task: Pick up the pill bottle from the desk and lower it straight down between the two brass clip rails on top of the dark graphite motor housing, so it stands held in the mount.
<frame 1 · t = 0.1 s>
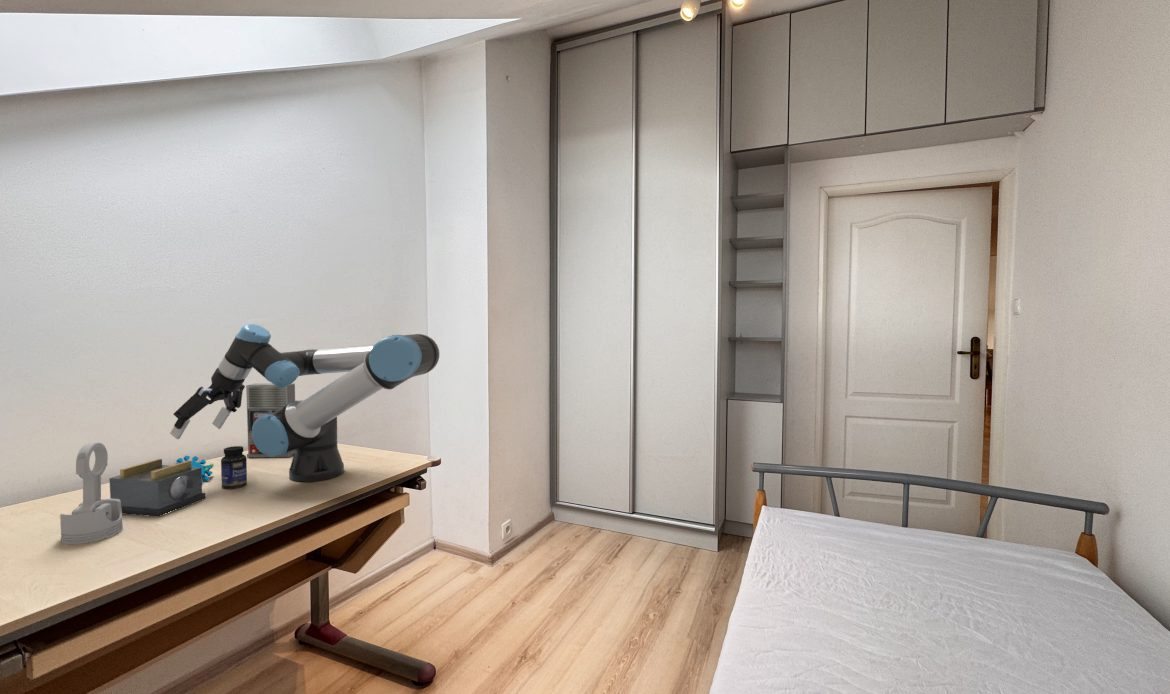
hand: (196, 430, 152), 15 cm above the table, tool tilted 35°, fingers open, 13 cm apart
grey cassette player: (272, 456, 182), on the table
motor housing: (158, 505, 135), on the table
blue spiky rounded piece: (195, 482, 154), on the table
engine component: (94, 534, 118), on the table
pill bottle: (234, 486, 151), on the table
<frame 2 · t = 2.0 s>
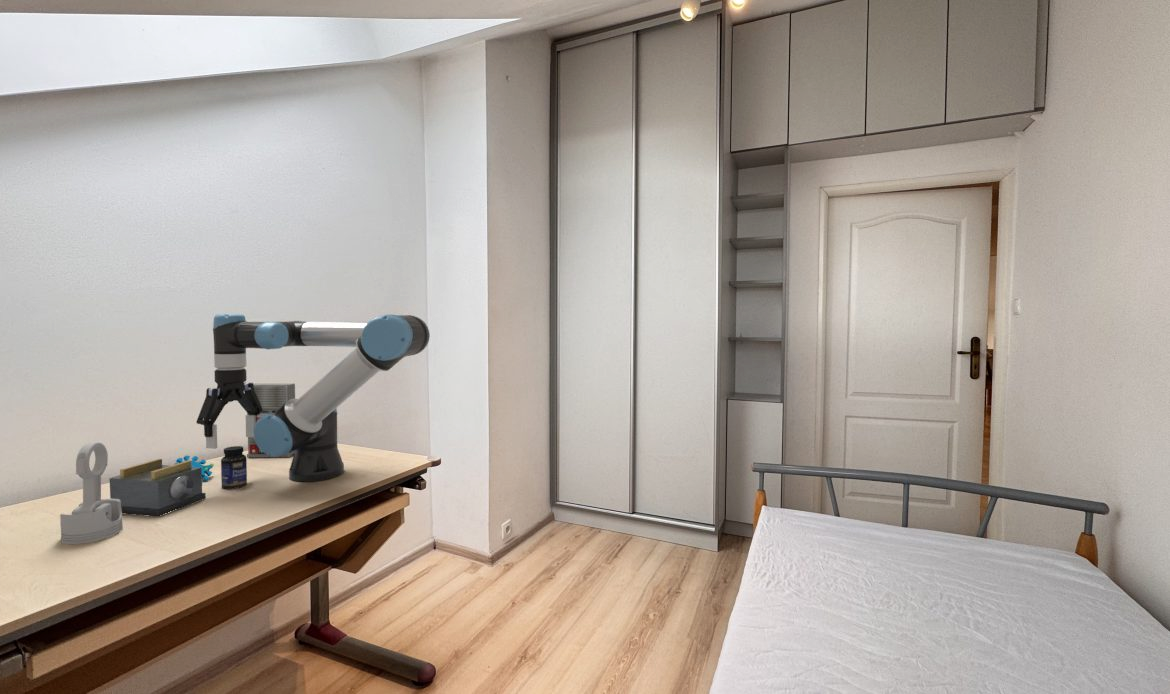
hand: (232, 442, 150), 13 cm above the table, tool pointing down, fingers open, 13 cm apart
nothing on the table moved.
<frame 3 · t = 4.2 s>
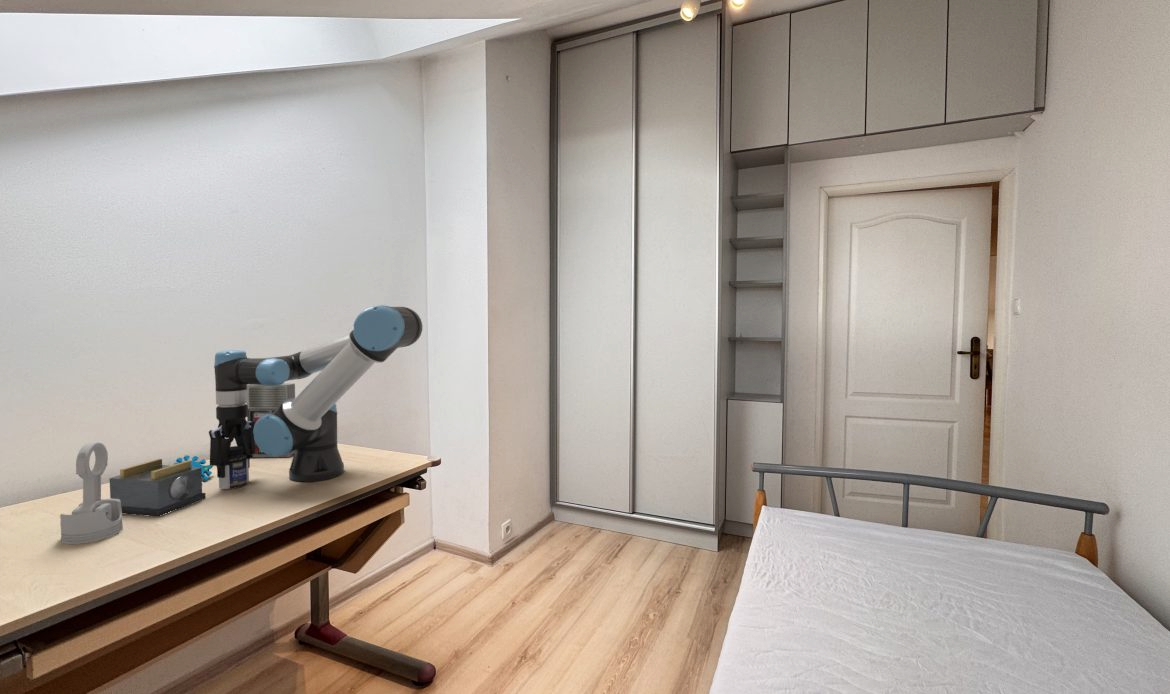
hand: (234, 484, 151), 0 cm above the table, tool pointing down, fingers closed on pill bottle, 6 cm apart
pill bottle: (234, 486, 151), on the table, touching gripper
everything else where it was.
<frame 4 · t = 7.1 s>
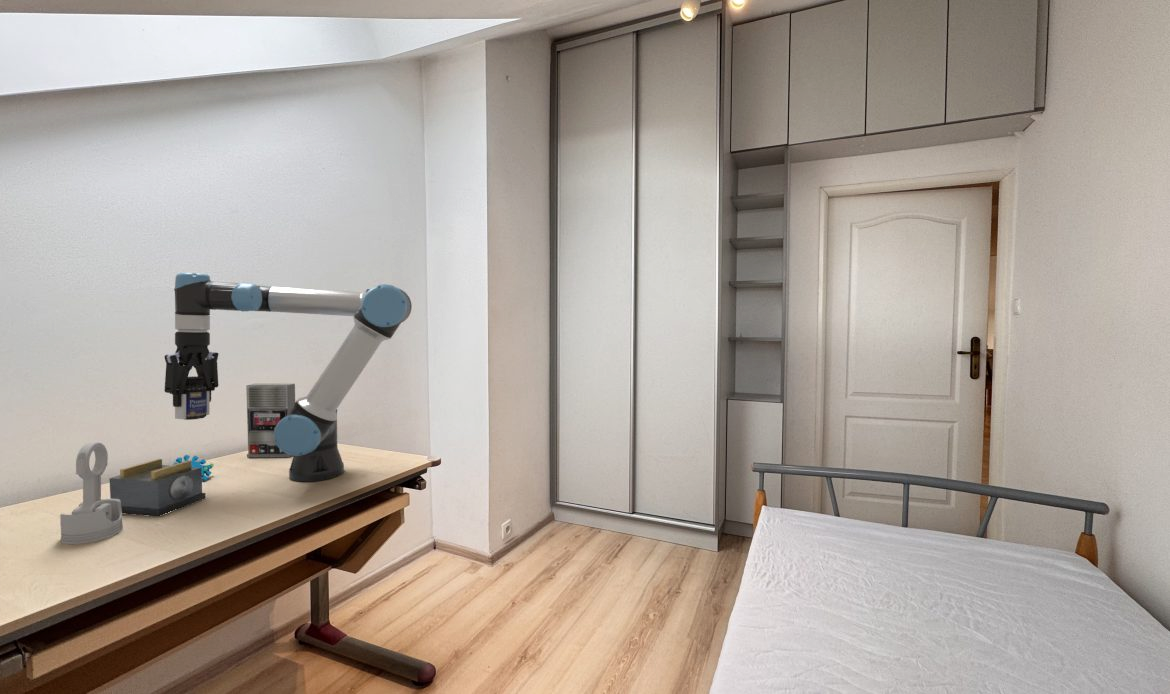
hand: (192, 416, 142), 22 cm above the table, tool pointing down, fingers closed on pill bottle, 6 cm apart
pill bottle: (192, 418, 142), point 21 cm above the table, touching gripper
everything else where it was.
when the fingers open (10 cm above the table, at t = 10.5 s): pill bottle stays where it is, resting on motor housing.
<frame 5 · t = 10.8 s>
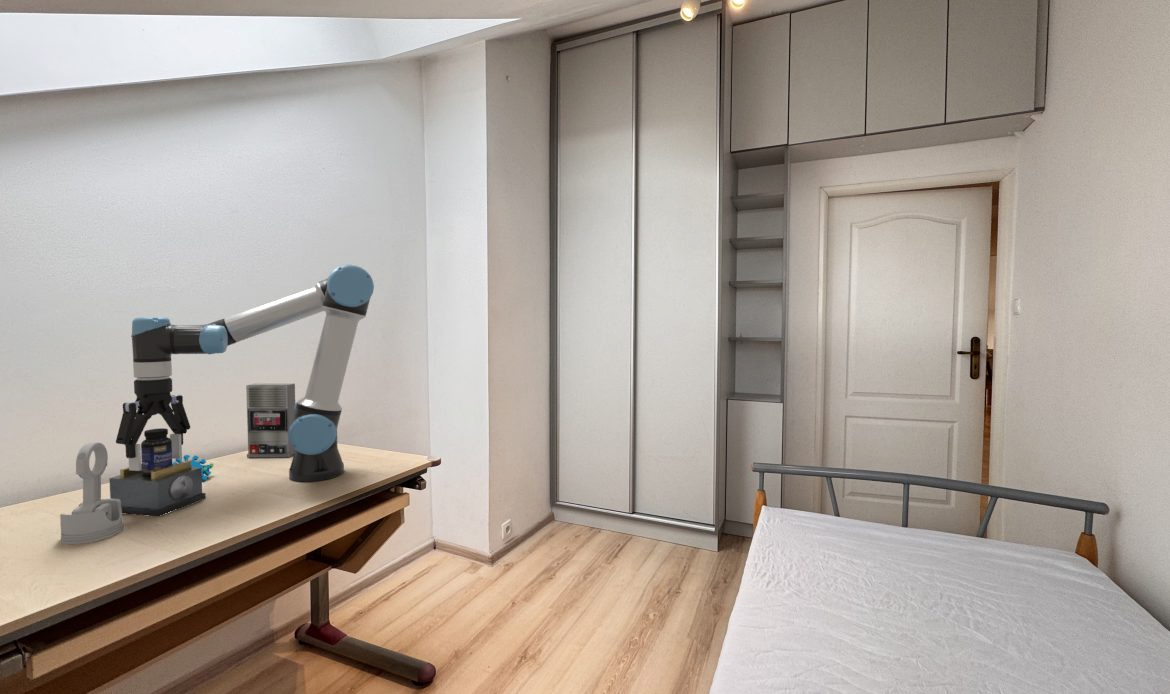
hand: (156, 464, 134), 11 cm above the table, tool pointing down, fingers open, 10 cm apart
pill bottle: (157, 473, 135), point 8 cm above the table, touching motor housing
everything else where it was.
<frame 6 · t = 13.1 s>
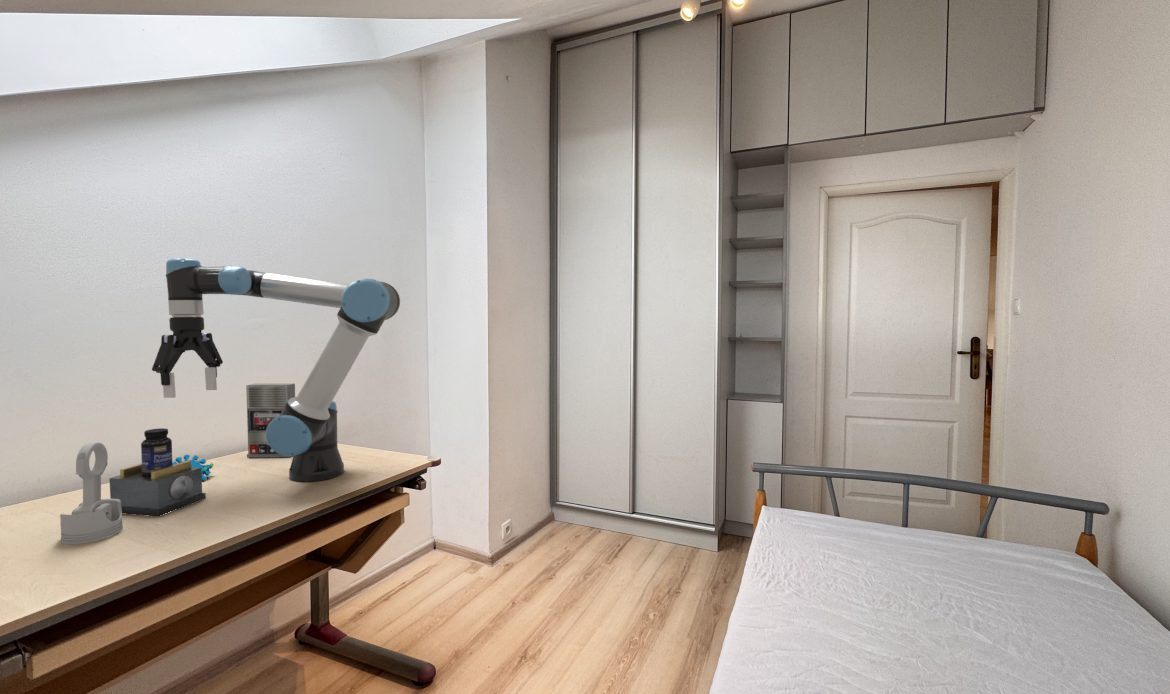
hand: (191, 393, 144), 27 cm above the table, tool pointing down, fingers open, 13 cm apart
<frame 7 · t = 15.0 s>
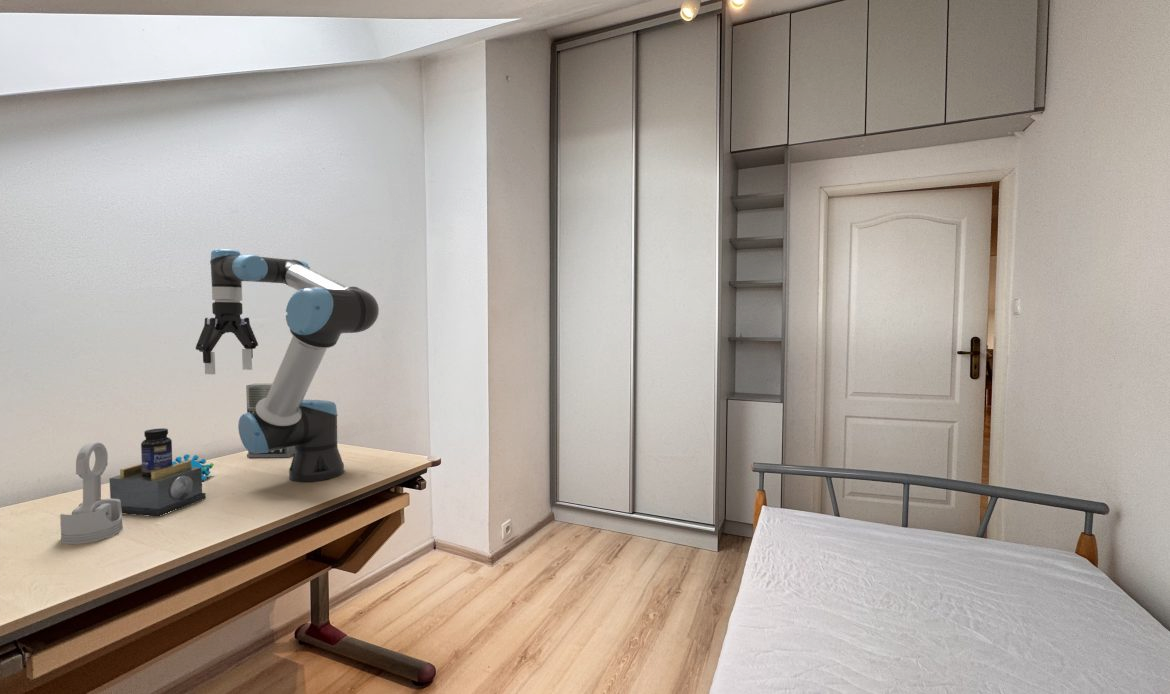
hand: (229, 371, 159), 32 cm above the table, tool pointing down, fingers open, 13 cm apart
at the end: pill bottle 0.2 cm off-centre on the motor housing, point 8.3 cm above the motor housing's base; pill bottle tilted 0°; the gripper is holding nothing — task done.
